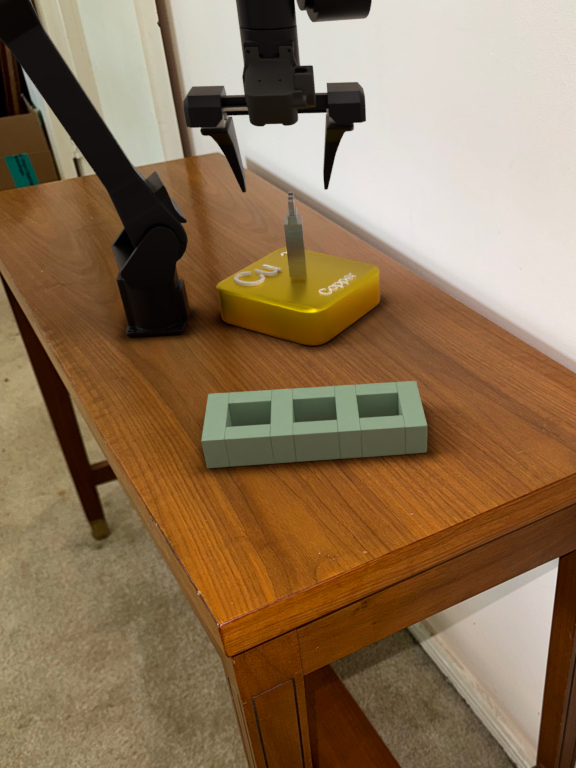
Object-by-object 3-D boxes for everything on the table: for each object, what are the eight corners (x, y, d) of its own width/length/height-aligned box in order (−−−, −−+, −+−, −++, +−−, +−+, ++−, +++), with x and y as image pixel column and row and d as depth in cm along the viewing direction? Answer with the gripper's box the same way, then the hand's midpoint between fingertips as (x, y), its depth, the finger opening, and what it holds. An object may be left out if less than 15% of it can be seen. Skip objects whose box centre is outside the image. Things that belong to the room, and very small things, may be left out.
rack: (207, 468, 68) (201, 440, 67) (213, 420, 74) (208, 393, 72) (426, 453, 70) (427, 425, 68) (416, 406, 76) (416, 380, 74)
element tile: (318, 350, 85) (315, 309, 82) (214, 321, 90) (207, 282, 87) (386, 300, 95) (385, 262, 92) (288, 276, 100) (284, 239, 97)
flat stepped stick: (289, 278, 88) (281, 201, 82) (289, 266, 91) (281, 191, 85) (306, 277, 88) (299, 201, 82) (306, 265, 91) (299, 190, 85)
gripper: (161, 42, 69) (193, 217, 80) (365, 37, 71) (371, 211, 81) (177, 22, 78) (205, 184, 88) (360, 18, 79) (366, 178, 89)
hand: (285, 190), depth 86 cm, fingers open, 9 cm apart
